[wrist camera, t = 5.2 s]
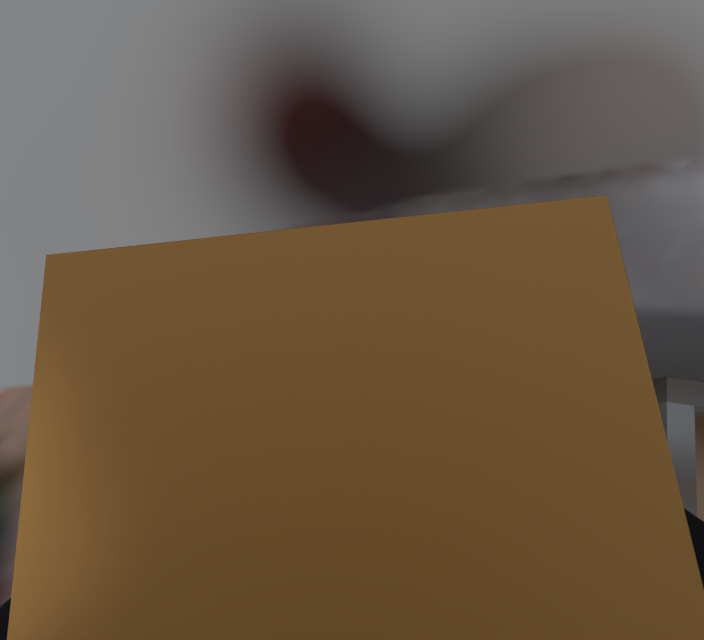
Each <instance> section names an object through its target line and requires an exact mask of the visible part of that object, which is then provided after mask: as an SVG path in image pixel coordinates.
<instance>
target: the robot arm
mask: <svg viewBox="0 0 704 640" xmlns="http://www.w3.org/2000/svg"><path fill="white" fill-rule="evenodd" d="M684 511H685V515H686V519H687V523H688V527H689V531H690V535H691V539H692V544H693V548H694V552H695V556H696V560H697V564H698V568H699V572H700V576H701V580H702V584H703V588H704V521H702V520H701V519H699V518H698V517H696V516H695V515H694V514H692V513H691V512H689V511H688V510H686V509H685V508H684ZM10 605H11V598H10V599H9V600H8V601H6V602H5V603H4V604H3V605H1V606H0V640H7V634H8V624H9V614H10Z"/></svg>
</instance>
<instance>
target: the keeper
mask: <svg viewBox="0 0 704 640" xmlns="http://www.w3.org/2000/svg"><path fill="white" fill-rule="evenodd" d="M652 381H653V385H654V389H655V393H656V397H657V401H658V405H659V409H660V413H661V417H662V421H663V426H664V430H665V434H666V438H667V442H668V446H669V450H670V454H671V458H672V462H673V466H674V470H675V474H676V478H677V483H678V487H679V491H680V495H681V499H682V503H683V507H684V508H685V509H686V510H688V511H689V512H691V513H692V514H694V515H695V516H696V517H698V518H699V519H701V520H702V521H704V382H703V381H695V380H687V379H680V378H672V377H663V378H659V379H655V380H652Z"/></svg>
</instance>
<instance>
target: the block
mask: <svg viewBox="0 0 704 640" xmlns="http://www.w3.org/2000/svg"><path fill="white" fill-rule="evenodd" d="M7 640H704V588H703V584H702V580H701V576H700V572H699V568H698V564H697V560H696V556H695V552H694V548H693V544H692V539H691V535H690V531H689V527H688V523H687V519H686V515H685V511H684V507H683V503H682V499H681V495H680V491H679V487H678V483H677V478H676V474H675V470H674V466H673V462H672V458H671V454H670V450H669V446H668V442H667V438H666V434H665V430H664V426H663V421H662V417H661V413H660V409H659V405H658V401H657V397H656V393H655V389H654V385H653V381H652V377H651V373H650V369H649V364H648V360H647V356H646V352H645V348H644V344H643V340H642V336H641V332H640V328H639V324H638V320H637V316H636V312H635V307H634V303H633V299H632V295H631V291H630V287H629V283H628V279H627V275H626V271H625V267H624V263H623V259H622V255H621V251H620V246H619V242H618V238H617V234H616V230H615V226H614V222H613V218H612V214H611V210H610V206H609V202H608V198H607V195H603V196H594V197H584V198H575V199H566V200H556V201H547V202H538V203H528V204H519V205H510V206H500V207H491V208H482V209H472V210H463V211H454V212H444V213H435V214H426V215H416V216H407V217H398V218H388V219H379V220H370V221H360V222H351V223H342V224H332V225H323V226H314V227H304V228H295V229H286V230H276V231H267V232H258V233H248V234H239V235H230V236H220V237H211V238H202V239H192V240H183V241H175V242H165V243H155V244H146V245H136V246H127V247H118V248H108V249H100V250H89V251H81V252H71V253H61V254H53V255H46V263H45V273H44V283H43V293H42V302H41V313H40V322H39V333H38V342H37V351H36V362H35V371H34V380H33V390H32V400H31V410H30V419H29V429H28V439H27V449H26V458H25V468H24V478H23V488H22V497H21V507H20V517H19V527H18V536H17V546H16V556H15V566H14V575H13V585H12V595H11V605H10V614H9V624H8V634H7Z"/></svg>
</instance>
